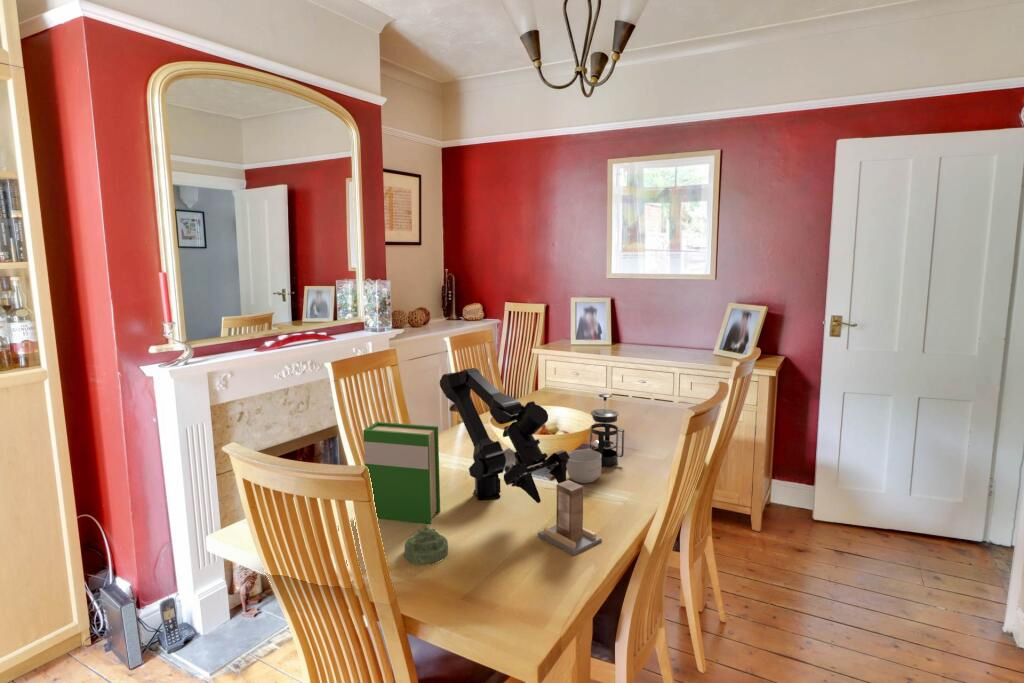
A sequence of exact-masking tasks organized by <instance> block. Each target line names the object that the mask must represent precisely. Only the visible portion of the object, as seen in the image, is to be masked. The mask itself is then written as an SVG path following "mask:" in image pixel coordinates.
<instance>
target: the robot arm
mask: <svg viewBox="0 0 1024 683" xmlns="http://www.w3.org/2000/svg"><path fill="white" fill-rule="evenodd" d="M439 387H440V389H441V391H442V392H443V394H444V395H445V398H447V399H448V400H449V401H451V402H452V403H453V404H455V406H456V409H457V411H458V413H459V416H460V418H461V419H462V422H463V424H464V427H465V429H466V432H467V433H468V435H469V439H470V441H471V442H472V445H473V453H472V454H473V455H472V458H473V461H474V462H473V463H472V464H471V465H470V466H469V468H468V472H469V476H471V477H472V478H474V489H473V493H474V495H475V497H476V499H477V500H478V501H483V500H491V499H499V498H501V494H500V493H501V479H500V477H499V474H503V473H504V474H503V482H504V483H505V485H506V486H509V485H511V487H512V488H513V487H517V488H520V489H522V490H523V491H524V492H525V493H527V495H528V496H529V497H530V498H532V500H534V501H535V503H537V504H540V503H541V497H540V494H539V491H538V489H537V486H536V483H535V480H534V477H533V476H532V474H533V472H537V471H540V470H543V469H547V470H548V471H549V472H548V474H550V475H552V476H553V477H554V479H555V480H556V482H557V484H559V483H562V482H564V481H567V480H568V479H567V463H568V459H570V457H569V455H568V453H569V452H567V451H566V450H563V449H562V450H559V451H555V452H553V453H552V454H551V455H550V456H549V457H548V454H547V453H546V452H545V453H543V452H542V450H541V448H540V446H539V444H540V443H541V441H540V439H536V438H535V437H534V435H535V434H536V433H537V432H538V431H539V430H540V429H542V427H543V426H544V425H545V424H546V423H547V422H548V420H549V414H548V412H547V410H546V409H544V408H543V407H542V406H541V405H538V404H536V402H535V401H534V400H531V401H528V402H527V403H526V404H525V405H524V404H522V403H521V402H520V401H519V400H518V399H517V398H514V397H513V396H511V395H509V394H505V393H502V392H501V391H499V390H498V388H496V387H495V386H494V385H493V384H492V383H491V382H490V381H489V380H487V378H485V377H484V376H483V375H482V374H481V373H480V370H479V369H478V368H475V367H471V368H465V369H462V370H460V371H455V372H450V373H445V374H443V375H442V376H441V378H440V380H439ZM471 391H472V392H474V394H475V395H477V397H479V398H480V400H482V401H483V402H484V403H485V404H486V405H487V407H488V408H489V414H490V416H491V417H492V418H493V419H494V420H495V422H496V423H497V424H498V425H505V424H508V423H510V425H507V426H504V427H503V428H504V429H503V432H502V437H503V438H506V437H508V438H509V440H510V442H511V444H512V446H513V447H514V449H515V452H514V458H515V462H513V463H510V464H507V465H506V463H507V456H506V455H505V454H506V452H505V451H504V449H503V447H502V444H501V442H500V441H499V440H496V441H493V440H492V439H491V438H490V436H489V434H488V432H487V430H486V427H485V426H484V423H483V420H482V418H481V417H480V414H479V412H478V410H477V408H476V406H475V404H474V401H473V399H472V398H471V393H472V392H471Z"/></svg>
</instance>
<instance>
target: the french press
mask: <svg viewBox="0 0 1024 683" xmlns="http://www.w3.org/2000/svg"><path fill="white" fill-rule="evenodd" d="M598 397H599V398H603V401H604V408H600V409H599V408H598V409H593V410H591V411H590V414H591V416H592V419H593V421H594V422H596V423H594V424H592V425H591V426H590V438H589V448H591V449H592V450H593V451H597V452H599V453H600V454H601V455H602V457H601V465H602V467H601V468H603V467H608V468H614V467H616V466H618V464H619V460H618V457H620V458H622V457H624V452H625V451H624V450H625V429H623V428H619V427H618V426H617V425H616V424H613V423H615V422H617V421H618V416H619V415H620V413H619V412H618V411H616V410H613V409H606V403H607V398H611V397H612V394H611V393H610V394H609V393H599V394H598ZM596 428H603V431H601V430H597V429H596ZM611 429H613V430H611ZM619 432H620V433H622V435H621V453H619V451H618V449H619ZM593 434H594V435H596V436H597V438H598V439H596V440H593ZM615 435H616V437H615V438H616V439H615V441H613V440H610V439H611V437H610V436H615ZM615 465H616V466H615ZM613 466H614V467H613Z"/></svg>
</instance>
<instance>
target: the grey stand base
mask: <svg viewBox="0 0 1024 683" xmlns="http://www.w3.org/2000/svg"><path fill="white" fill-rule="evenodd" d="M537 536H538V537H539V538H541V539H543V540H544V539H545V540H544V541H545V542H548V543H549V544H551V545H554V546H555V547H557V548H559V549H561V550H563V551H564V552H566V553H568V554H569V555H571V556H575V555H577V554H579V553H580V552H583V551H585V550H586V549H589V548H590V547H593V546H595V545H597V544H599V543H601V542H602V541H603V538H602V537H601V536H598V535H597V532H594V531H592V530H590V529H588V528H587V527H584V526H583V537H581V538H579V539H577V540H575V541H572V540H570V539H568V538H566V537H564V536H562V535H560V534H558V533H556V524H555V525H553V526H550V527H544V528H543V530H541V531H539V532H538V533H537Z"/></svg>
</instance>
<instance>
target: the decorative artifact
mask: <svg viewBox="0 0 1024 683" xmlns="http://www.w3.org/2000/svg"><path fill="white" fill-rule="evenodd" d="M447 554H449V541H448V539H447V538H446V537H445V536H444V535H441V534H440V533H439V532H437V531H436V529H434V528H430V527H429V526H427V525H424V527H423V528H419V529H418V530H417V532H416V533H414V534H413V535H412V536H411V537H410V538H408V539H406V541H405V542H404V558H405V560H406V561H407V562H408V563H410V564H413V565H418V566H428V564H430V565H433V563H434V564H437V563H439V562H438V561H440V560H442V559H443V560H445V557H446V558H447V556H448V555H447ZM443 560H442V561H443ZM436 562H437V563H436ZM440 562H441V561H440Z"/></svg>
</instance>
